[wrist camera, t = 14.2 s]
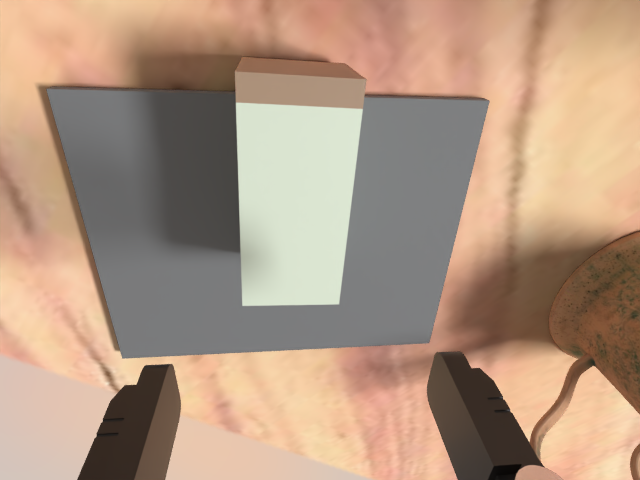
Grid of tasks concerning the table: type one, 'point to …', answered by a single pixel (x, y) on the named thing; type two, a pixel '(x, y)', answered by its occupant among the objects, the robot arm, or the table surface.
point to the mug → (599, 329)
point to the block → (295, 177)
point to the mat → (224, 222)
